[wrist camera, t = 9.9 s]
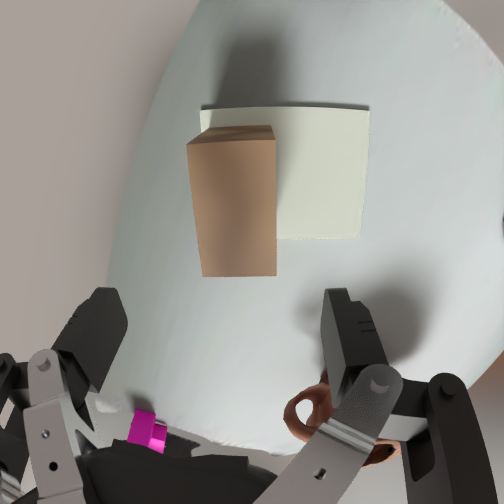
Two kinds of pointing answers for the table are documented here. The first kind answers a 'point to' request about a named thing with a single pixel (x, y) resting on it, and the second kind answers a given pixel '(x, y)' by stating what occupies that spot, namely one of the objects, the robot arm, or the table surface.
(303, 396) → the decorative planter
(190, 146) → the walnut block
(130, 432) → the toy block
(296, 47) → the table surface
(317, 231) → the mat
